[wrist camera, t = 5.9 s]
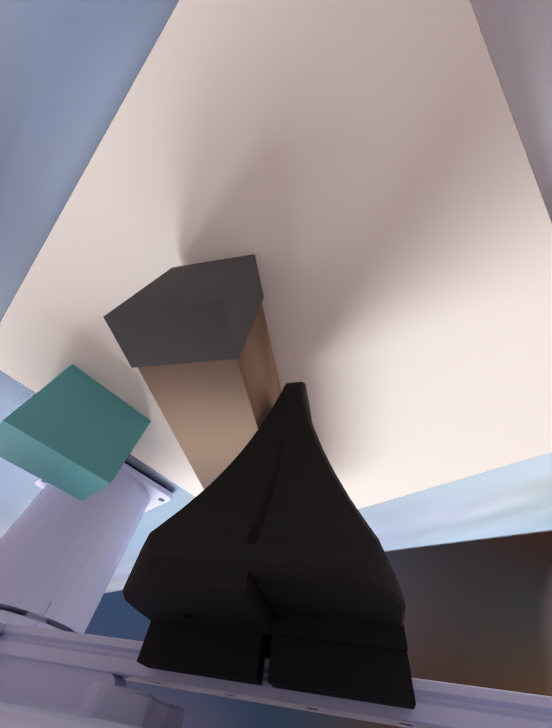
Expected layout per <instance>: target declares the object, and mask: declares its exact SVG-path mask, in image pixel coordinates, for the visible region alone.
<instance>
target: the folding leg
mask: <svg viewBox="0 0 552 728" xmlns="http://www.w3.org/2000/svg"><path fill="white" fill-rule="evenodd" d="M263 298H264V295H263V291H262V286H261V281H260V277H259V272H258V267H257V262H256V258H255V254H253V255H246V256H240V257H234V258H228V259H222V260H215V261H209V262H203V263H197V264H191V265H184V266H178V267H172V268H171V269H169V270H168V271H166V272H165V273H164V274H162V275H161V276H159V277H158V278H157V279H155V280H154V281H152V282H151V283H150V284H148V285H147V286H145V287H144V288H143V289H141V290H140V291H138V292H137V293H136V294H134V295H133V296H131V297H130V298H129V299H127V300H126V301H124V302H123V303H122V304H120V305H119V306H117V307H116V308H115V309H113V310H112V311H110V312H109V313H108V314H106V315H105V316H103V317H104V319H105V321H106V323H107V325H108V326H109V328H110V330H111V332H112V333H113V335H114V337H115V339H116V341H117V342H118V344H119V346H120V348H121V350H122V351H123V353H124V355H125V357H126V359H127V360H128V362H129V364H130V366H131V368H136V367H138V369H139V371H140V373H141V375H142V376H143V378H144V380H145V382H146V384H147V386H148V388H149V389H150V391H151V393H152V395H153V397H154V399H155V400H156V402H157V404H158V406H159V408H160V410H161V411H162V413H163V415H164V417H165V419H166V421H167V422H168V424H169V426H170V428H171V430H172V432H173V434H174V435H175V437H176V439H177V441H178V443H179V445H180V446H181V448H182V450H183V452H184V454H185V456H186V457H187V459H188V461H189V463H190V465H191V467H192V468H193V470H194V472H195V474H196V476H197V478H198V480H199V481H200V483H201V485H202V487H203V489H205V488H206V487H208V486H209V485H210V484H211V483H212V482H213V481H214V480H215V479H216V478H217V477H218V476H219V475H220V474H221V473H222V472H223V471H224V470H225V469H226V468H227V467H228V466H229V465H230V463H231V462H232V461H233V460H234V459H235V458H236V457H237V456H238V454H239V453H240V452H241V451H242V450H243V449H244V447H245V446H246V445H247V444H248V442H249V441H250V440H251V438H252V437H253V436H254V434H255V433H256V431H257V430H258V429H259V427H260V426H261V424H262V423H263V422H264V420H265V418H266V417H267V415H268V414H269V412H270V411H271V409H272V407H273V406H274V404H275V402H276V401H277V399H278V397H279V395H280V393H281V388H280V383H279V378H278V374H277V369H276V365H275V360H274V356H273V351H272V347H271V342H270V338H269V333H268V328H267V324H266V319H265V315H264V310H263V306H262V301H263Z"/></svg>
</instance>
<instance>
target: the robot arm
mask: <svg viewBox="0 0 552 728" xmlns="http://www.w3.org/2000/svg"><path fill="white" fill-rule="evenodd" d="M35 485H36V486H38V487H40V488H42V491H41V492H40V493H39V494H38V495H37V497H36V498H35V499H34V500H33V501H32V502H31V504H30V505H29V506H28V507H27V508H26V510H25V511H24V512H23V513H22V514H21V515H20V517H19V518H18V519H17V520H16V521H15V523H14V524H13V525H12V526H11V527H10V528H9V530H8V531H7V532H6V533H5V534H4V536H3V537H2V538H1V539H0V728H182V724H183V720H184V716H185V711H184V708H180V707H178V706H175V705H172V704H169V703H166V702H164V701H162V700H160V699H157V698H156V697H154V696H153V695H151V694H149V693H145V692H140V691H137V690H132V689H128V688H127V683H126V681H125V680H129V681H135V682H141V683H147V684H153V685H158V686H164V687H171V688H177V689H182V690H188V691H194V692H200V693H206V694H211V695H218V696H223V697H229V698H235V699H242V700H247V701H253V702H259V703H265V704H271V705H276V706H282V707H288V708H294V709H300V710H306V711H312V712H318V713H324V714H329V715H335V716H341V717H347V718H353V719H359V720H365V721H371V722H377V723H383V724H388V725H395V726H400V727H406V728H552V697H550V696H543V695H535V694H528V693H521V692H513V691H506V690H498V689H491V688H483V687H476V686H469V685H461V684H454V683H446V682H438V681H431V680H424V679H417V678H412V677H411V672H410V667H409V660H408V655H407V650H408V649H407V641H406V636H405V630H404V624H403V623H404V616H405V609H406V607H405V600H404V597H403V593H402V590H401V587H400V585H399V582H398V580H397V577H396V575H395V573H394V570H393V568H392V567H391V564H390V562H389V560H388V558H387V556H386V554H385V552H384V550H383V548H382V546H381V543H380V541H379V539H378V538H377V536H376V535H375V534H374V532H373V531H372V530H371V528H370V527H369V525H368V524H367V522H366V521H365V520H364V518H363V517H362V515H361V514H360V512H359V511H358V509H357V508H356V506H355V505H354V503H353V502H352V500H351V499H350V497H349V495H348V494H347V492H346V490H345V489H344V487H343V485H342V484H341V482H340V480H339V479H338V477H337V475H336V473H335V472H334V470H333V468H332V466H331V464H330V462H329V460H328V458H327V456H326V454H325V452H324V450H323V448H322V446H321V443H320V441H319V439H318V436H317V434H316V431H315V429H314V426H313V423H312V417H311V411H310V406H309V400H308V394H307V389H306V384H305V383H304V382H292V383H286V385H285V386H284V388H283V390H282V392H281V393H280V395H279V397H278V399H277V401H276V402H275V404H274V406H273V407H272V409H271V411H270V412H269V414H268V415H267V417H266V418H265V420H264V422H263V423H262V424H261V426H260V427H259V429H258V430H257V431H256V433H255V434H254V436H253V437H252V438H251V440H250V441H249V442H248V444H247V445H246V446H245V447H244V449H243V450H242V451H241V452H240V453H239V454H238V456H237V457H236V458H235V459H234V460H233V461H232V462H231V463H230V465H229V466H228V467H227V468H226V469H225V470H224V471H223V472H222V473H221V474H220V475H219V476H218V477H217V478H216V479H215V480H214V481H213V482H212V483H211V484H210V485H209V486H208V487H206V488H205V489H204V490H203V491H202V492H201V493H200V494H199V495H197V496H196V497H195V498H194V499H193V500H192V501H191V502H190V503H188V504H187V505H186V506H185V507H184V508H182V509H181V510H180V511H178V512H177V513H176V514H175V515H173V516H172V517H171V518H169V519H168V520H167V521H165V522H164V523H163V524H161V525H160V526H159V527H157V528H156V529H155V530H153V531H152V532H151V533H150V534H149V536H148V538H147V540H146V541H145V543H144V545H143V547H142V549H141V551H140V553H139V556H138V558H137V560H136V562H135V564H134V567H133V569H132V571H131V573H130V575H129V578H128V580H127V582H126V584H125V586H124V589H123V594H124V597H125V600H126V601H127V602H128V603H129V604H130V605H131V606H133V607H134V608H135V609H137V610H138V611H139V612H141V613H142V614H143V615H144V616H146V617H147V618H148V619H150V620H151V624H150V626H149V629H148V631H147V634H146V637H145V639H144V642H141V641H135V640H126V639H120V638H112V637H105V636H97V635H90V634H84V632H85V630H86V628H87V626H88V624H89V622H90V620H91V618H92V615H93V614H94V612H95V610H96V608H97V606H98V604H99V602H100V600H101V598H102V595H103V594H104V592H105V590H106V588H107V586H108V584H109V582H110V580H111V578H112V576H113V574H114V572H115V570H116V568H117V566H118V564H119V562H120V560H121V558H122V556H123V554H124V552H125V550H126V548H127V546H128V544H129V542H130V540H131V538H132V536H133V534H134V532H135V530H136V528H137V526H138V524H139V522H140V520H141V518H142V516H143V514H144V513H145V512H147V511H149V510H151V509H153V508H155V507H157V506H160V505H162V504H164V503H166V502H168V501H170V500H171V499H172V496H173V494H172V493H171V492H170V491H168V490H167V489H165V488H164V487H162V486H160V485H159V484H157V483H156V482H154V481H152V480H151V479H149V478H148V477H146V476H145V475H143V474H141V473H140V472H138V471H137V470H135V469H133V468H132V467H130V466H129V465H127V464H126V463H124V464H123V465H122V467H121V468H120V470H119V471H118V473H117V474H116V476H115V478H114V479H113V481H112V482H111V484H109V485H108V486H106V487H104V488H103V489H101V490H100V491H98V492H96V493H95V494H93V495H92V496H90V497H88V498H87V499H85V500H83V501H81V500H79V499H77V498H75V497H74V496H72V495H70V494H68V493H66V492H64V491H62V490H61V489H59V488H57V487H55V486H53V485H51V484H50V483H48V482H46V481H44V480H42V479H40V478H38V479H37V480H36V481H35Z"/></svg>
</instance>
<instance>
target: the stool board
mask: <svg viewBox="0 0 552 728" xmlns="http://www.w3.org/2000/svg"><path fill="white" fill-rule="evenodd" d="M253 254H255V258H256V262H257V267H258V272H259V277H260V281H261V286H262V291H263V295H264V298H263V301H262V306H263V310H264V315H265V319H266V324H267V328H268V333H269V338H270V342H271V347H272V351H273V356H274V360H275V365H276V369H277V374H278V378H279V383H280V388H281V392H282V390H283V388H284V386H285V385H286V383H292V382H304V383H305V384H306V389H307V394H308V400H309V406H310V411H311V417H312V423H313V426H314V429H315V431H316V434H317V436H318V439H319V441H320V443H321V446H322V448H323V450H324V452H325V454H326V456H327V458H328V460H329V462H330V464H331V466H332V468H333V470H334V472H335V473H336V475H337V477H338V479H339V480H340V482H341V484H342V485H343V487H344V489H345V490H346V492H347V494H348V495H349V497H350V499H351V500H352V502H353V503H354V505H355V506H356V508H357V509H361V508H364V507H367V506H371V505H374V504H378V503H381V502H384V501H388V500H391V499H394V498H398V497H401V496H405V495H408V494H411V493H415V492H418V491H421V490H425V489H428V488H432V487H435V486H438V485H442V484H445V483H448V482H452V481H455V480H458V479H462V478H465V477H469V476H472V475H475V474H479V473H482V472H485V471H489V470H492V469H496V468H499V467H502V466H506V465H509V464H512V463H516V462H519V461H523V460H526V459H529V458H533V457H536V456H539V455H543V454H546V453H550V452H552V223H551V220H550V217H549V214H548V212H547V209H546V206H545V204H544V201H543V198H542V195H541V193H540V190H539V187H538V185H537V182H536V179H535V176H534V174H533V171H532V168H531V166H530V163H529V160H528V157H527V155H526V152H525V149H524V147H523V144H522V141H521V138H520V136H519V133H518V130H517V128H516V125H515V122H514V119H513V117H512V114H511V111H510V109H509V106H508V103H507V100H506V98H505V95H504V92H503V90H502V87H501V84H500V81H499V79H498V76H497V73H496V71H495V68H494V65H493V62H492V60H491V57H490V54H489V52H488V49H487V46H486V43H485V41H484V38H483V35H482V33H481V30H480V27H479V24H478V22H477V19H476V16H475V13H474V11H473V8H472V5H471V3H470V0H179V2H178V4H177V5H176V7H175V9H174V11H173V13H172V14H171V16H170V18H169V20H168V22H167V23H166V25H165V27H164V29H163V31H162V32H161V34H160V36H159V38H158V40H157V41H156V43H155V45H154V47H153V49H152V50H151V52H150V54H149V56H148V58H147V59H146V61H145V63H144V65H143V67H142V68H141V70H140V72H139V74H138V76H137V77H136V79H135V81H134V83H133V85H132V86H131V88H130V90H129V92H128V94H127V95H126V97H125V99H124V101H123V103H122V104H121V106H120V108H119V110H118V112H117V113H116V115H115V117H114V119H113V121H112V122H111V124H110V126H109V128H108V130H107V131H106V133H105V135H104V137H103V139H102V140H101V142H100V144H99V146H98V148H97V149H96V151H95V153H94V155H93V157H92V158H91V160H90V162H89V164H88V166H87V167H86V169H85V171H84V173H83V175H82V176H81V178H80V180H79V182H78V184H77V185H76V187H75V189H74V191H73V193H72V194H71V196H70V198H69V200H68V202H67V203H66V205H65V207H64V209H63V211H62V212H61V214H60V216H59V218H58V220H57V221H56V223H55V225H54V227H53V229H52V230H51V232H50V234H49V236H48V238H47V239H46V241H45V243H44V245H43V247H42V248H41V250H40V252H39V254H38V256H37V257H36V259H35V261H34V263H33V265H32V266H31V268H30V270H29V272H28V274H27V275H26V277H25V279H24V281H23V283H22V284H21V286H20V288H19V290H18V291H17V293H16V295H15V297H14V299H13V300H12V302H11V304H10V306H9V308H8V309H7V311H6V313H5V315H4V317H3V318H2V320H1V322H0V370H1V371H3V372H4V373H6V374H7V375H9V376H11V377H12V378H14V379H15V380H17V381H18V382H20V383H21V384H23V385H24V386H26V387H27V388H29V389H31V390H32V391H34V392H35V393H36V394H35V395H34V396H32V397H31V398H30V399H29V400H28V401H26V402H25V403H24V404H23V405H21V406H20V407H19V408H18V409H16V410H15V411H14V412H13V413H12V414H10V415H9V416H8V417H7V418H5V419H4V420H3V421H2V422H1V424H0V457H1V458H3V459H5V460H7V461H9V462H11V463H13V464H14V465H16V466H18V467H20V468H22V469H24V470H25V471H27V472H29V473H31V474H33V475H35V476H37V477H38V478H40V479H42V480H44V481H46V482H48V483H50V484H51V485H53V486H55V487H57V488H59V489H61V490H62V491H64V492H66V493H68V494H70V495H72V496H74V497H75V498H77V499H79V500H81V501H83V500H85V499H87V498H88V497H90V496H92V495H93V494H95V493H96V492H98V491H100V490H101V489H103V488H104V487H106V486H108V485H109V484H111V482H112V481H113V479H114V478H115V476H116V474H117V473H118V471H119V470H120V468H121V467H122V465H123V464H124V462H125V461H126V459H127V458H128V456H129V454H130V455H132V456H134V457H135V458H137V459H138V460H140V461H141V462H143V463H144V464H146V465H147V466H149V467H150V468H152V469H154V470H155V471H157V472H158V473H160V474H161V475H163V476H164V477H166V478H167V479H169V480H170V481H172V482H174V483H175V484H177V485H178V486H180V487H181V488H183V489H184V490H186V491H187V492H189V493H190V494H192V495H193V496H195V497H196V496H197V495H199V494H200V493H201V492H202V491H203V490H204V489H203V487H202V485H201V483H200V481H199V480H198V478H197V476H196V474H195V472H194V470H193V468H192V467H191V465H190V463H189V461H188V459H187V457H186V456H185V454H184V452H183V450H182V448H181V446H180V445H179V443H178V441H177V439H176V437H175V435H174V434H173V432H172V430H171V428H170V426H169V424H168V422H167V421H166V419H165V417H164V415H163V413H162V411H161V410H160V408H159V406H158V404H157V402H156V400H155V399H154V397H153V395H152V393H151V391H150V389H149V388H148V386H147V384H146V382H145V380H144V378H143V376H142V375H141V373H140V371H139V369H138V367H136V368H131V366H130V364H129V362H128V360H127V359H126V357H125V355H124V353H123V351H122V350H121V348H120V346H119V344H118V342H117V341H116V339H115V337H114V335H113V333H112V332H111V330H110V328H109V326H108V325H107V323H106V321H105V319H104V317H103V316H105V315H106V314H108V313H109V312H110V311H112V310H113V309H115V308H116V307H117V306H119V305H120V304H122V303H123V302H124V301H126V300H127V299H129V298H130V297H131V296H133V295H134V294H136V293H137V292H138V291H140V290H141V289H143V288H144V287H145V286H147V285H148V284H150V283H151V282H152V281H154V280H155V279H157V278H158V277H159V276H161V275H162V274H164V273H165V272H166V271H168V270H169V269H171V268H172V267H178V266H184V265H191V264H197V263H203V262H209V261H215V260H222V259H228V258H234V257H240V256H246V255H253Z"/></svg>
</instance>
